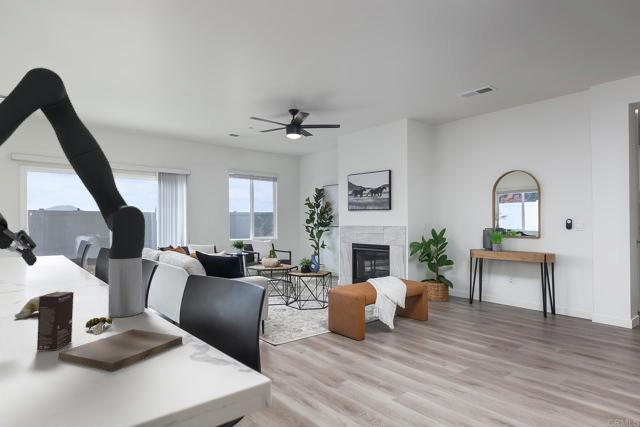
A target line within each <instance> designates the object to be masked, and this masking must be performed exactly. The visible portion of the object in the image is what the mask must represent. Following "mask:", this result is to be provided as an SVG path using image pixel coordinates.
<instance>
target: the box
mask: <svg viewBox="0 0 640 427" xmlns="http://www.w3.org/2000/svg"><path fill="white" fill-rule="evenodd" d="M74 293H75V292H74V291H55V292H51V293H46V294H43V295H39V296H40V297H39V296H38V297H39V311H38V320H37V340H36V346H37V347H36V351H38V352H50V351H56V350H58V349H61V348H63V347H64V346H66V345H68V344H70V343H71V344H72V340H73V339H72V338H73V315H74V314H73V311H74Z"/></svg>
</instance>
